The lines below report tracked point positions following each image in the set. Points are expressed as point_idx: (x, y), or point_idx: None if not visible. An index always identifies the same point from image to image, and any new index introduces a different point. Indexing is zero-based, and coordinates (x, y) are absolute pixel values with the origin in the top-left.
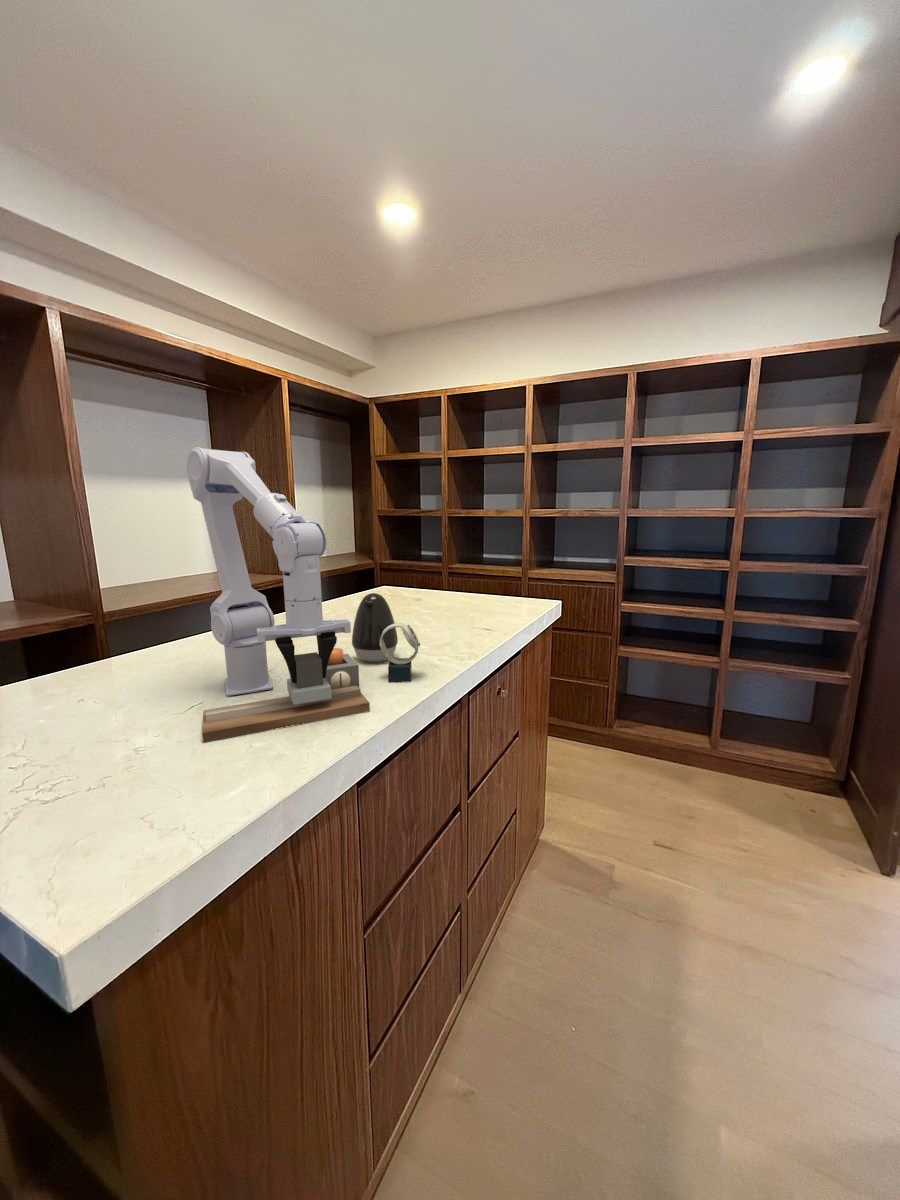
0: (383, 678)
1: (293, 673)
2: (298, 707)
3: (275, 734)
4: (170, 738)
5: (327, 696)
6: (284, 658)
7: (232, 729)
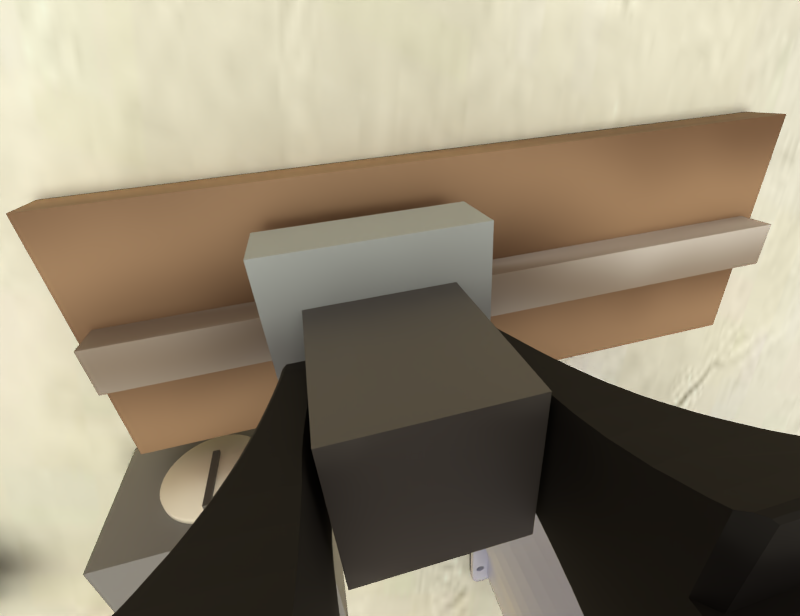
0: (24, 553)
1: (515, 348)
2: None
3: (521, 80)
4: (797, 192)
5: (275, 232)
6: (672, 407)
7: (685, 124)
